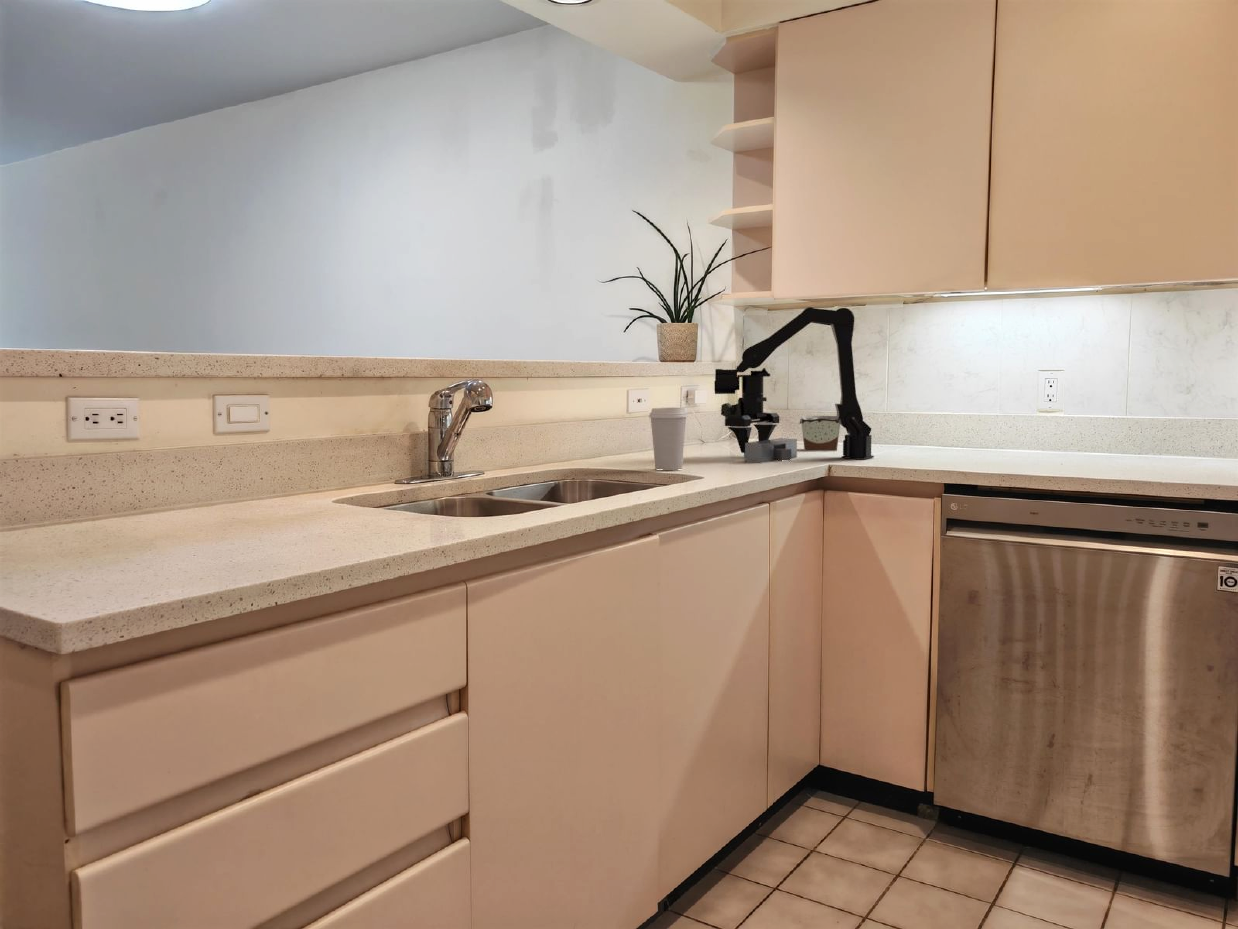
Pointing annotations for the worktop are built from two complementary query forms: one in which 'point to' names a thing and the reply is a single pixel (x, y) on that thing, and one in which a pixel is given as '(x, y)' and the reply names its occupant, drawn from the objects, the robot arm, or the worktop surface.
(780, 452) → the bar
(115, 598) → the worktop surface
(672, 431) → the coffee cup
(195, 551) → the worktop surface
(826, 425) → the food container
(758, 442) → the long gray rectangular block
